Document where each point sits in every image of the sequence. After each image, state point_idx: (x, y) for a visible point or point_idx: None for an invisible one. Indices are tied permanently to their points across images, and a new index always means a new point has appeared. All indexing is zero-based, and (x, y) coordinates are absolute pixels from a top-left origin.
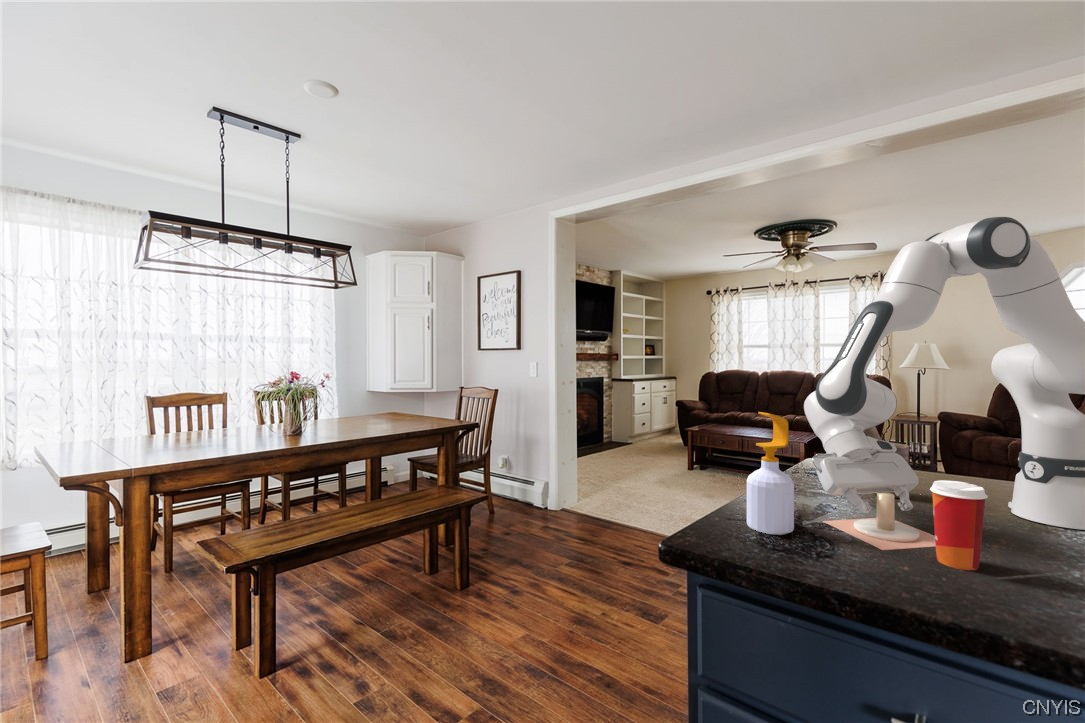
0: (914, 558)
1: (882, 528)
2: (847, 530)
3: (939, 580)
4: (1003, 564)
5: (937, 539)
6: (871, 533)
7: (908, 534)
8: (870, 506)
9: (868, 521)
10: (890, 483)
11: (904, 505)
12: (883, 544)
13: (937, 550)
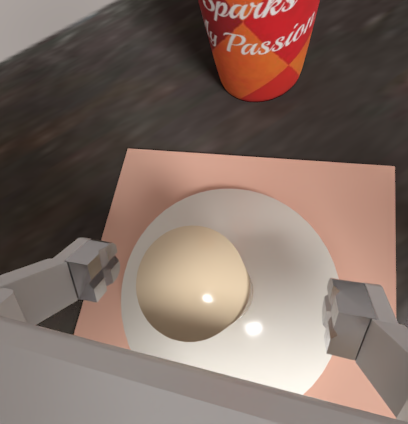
0: (329, 117)
1: (251, 280)
2: None
3: (394, 14)
4: (153, 61)
5: (313, 18)
6: (334, 265)
7: (209, 212)
8: (333, 285)
9: None
10: (36, 332)
11: (108, 256)
12: (348, 200)
13: (304, 53)
